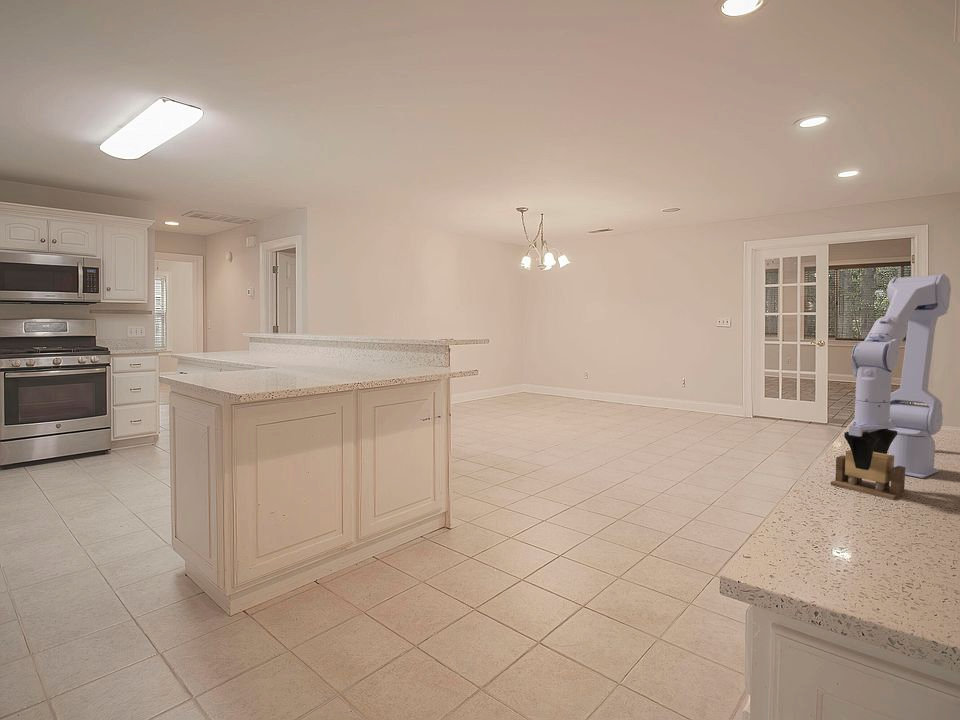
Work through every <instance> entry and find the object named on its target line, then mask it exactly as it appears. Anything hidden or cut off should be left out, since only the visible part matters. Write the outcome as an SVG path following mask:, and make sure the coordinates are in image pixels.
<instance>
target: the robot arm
mask: <svg viewBox="0 0 960 720" xmlns="http://www.w3.org/2000/svg"><path fill="white" fill-rule="evenodd" d="M951 287H952V286H951V281H950V277H948V276H947V275H946V274H945V273H943V274H942V273H941V274H938V275H937V274H936V275H922V276H921V275H919V276H918V275H917V276H905V277H904V276H903V277H898V276H895V277H892V278H891V280H890V281H889V282H888V284H887V290H886V296H887V300H888V302H889V304H888V308H887V310H886V313H885V315H884V316H881V317H879V318H878V319H876V320H875V321H874V324H873V325H872V327H871V329H870V330H869V332H868V334H867V335H866V337H865V338H864V341H863V340H862V341H860V342H859V343H856V344H855V345H853V348H852V352H851V356H850V358H851V359H850V360H851V365H852V367H853V373H852V374H853V377H854V378H855V394H854V395H855V398H854V399H855V402H854V419H853V420H852V423H851V424H849V425H848V431H846V432H844V435H843V437H844V439H845V441H846V442H847V443H848V445H849V447H850V450H851V451H852V455H853V459H854V463H855V467H856V468H858V469H863V470H869V468H870V465H871V460H872V455H873V452H877V453H883V454H888V455H894V467H896V466H902V467H905V476H912V477H916V478H921V479H924V478H926V477H929V476H931V475H933V474H936V473H938V472H940V469H939V468H935V458H936V457H935V453H936V442H935V440H934V438H933V437H932V436H933V435H936V434H937V433H939V432H940V431H941V428H942V426H943V421H944V420H943V419H944V418H943V417H944V415H943V403H942V401H941V400H940V399H939V398H938V397H937V396H936V395H934V394H933V393H931V392H930V391H929V390H928V388H929V381H930V379H929V378H930V373H931V372H930V370H931V363H932V356H933V349H934V348H933V347H934V340H935V333H936V332H935V331H936V325H937V322H938V319H939V317H942V316H944V315H947V313H948V310H949V308H950V300H951V293H952V288H951ZM907 321H908V323H907ZM907 324H908V325H907ZM904 338H905V346H904V352H903V353H904V354H903V362H902V369H901V370H902V371H901V378H900V384H899V385H900V386H899V388H898V389H896V390H895V391H892V379H893V378H892V376H893V374H892V373H893V371H894V370H895V369H896V367H897V366H898V361H899V356H900V354H901V348H900V346H901V344H902V343H903V340H904ZM905 402H906V403H905Z"/></svg>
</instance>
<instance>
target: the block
mask: <svg viewBox="0 0 960 720" xmlns="http://www.w3.org/2000/svg"><path fill="white" fill-rule="evenodd" d="M845 456H846V459H845V475H848V476H853V477H857V478H862V480H865V481H870V482H875V483H876V482H880V483H887V482H889V481H890V482H891V469H892V468H893V467H894V455H889V453H887V454H883V453H877V452H873V455H872V460H871V465H870V468H869V470H863V469H858V468H856V467H855V463H854V459H853V455H852V451H851V449H849V450H845Z"/></svg>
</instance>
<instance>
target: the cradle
mask: <svg viewBox="0 0 960 720" xmlns="http://www.w3.org/2000/svg"><path fill="white" fill-rule="evenodd" d="M845 459H846V455H845V454H844V455H839V456H836V459H835V480H833V481H830V485H831V486H834V487H837V488H842V489H847V490H850V491H851V490H852V491H855V492H860V493H863V494H868V495H870V496H871V495H872V496H876V497H880V498H883V499H888V500H892V501H894V500H895V499H899V498H900V497H903V496H906V495H907V494H909V490H908V489H905V484H906V481H905V480H906V475H905V467H902V466H896V467H893V468H892V469H891V481H889V482H887V483H880V482H876V481H870V480H866V479H862V478H857V477H853V476H848V475H845Z"/></svg>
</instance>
